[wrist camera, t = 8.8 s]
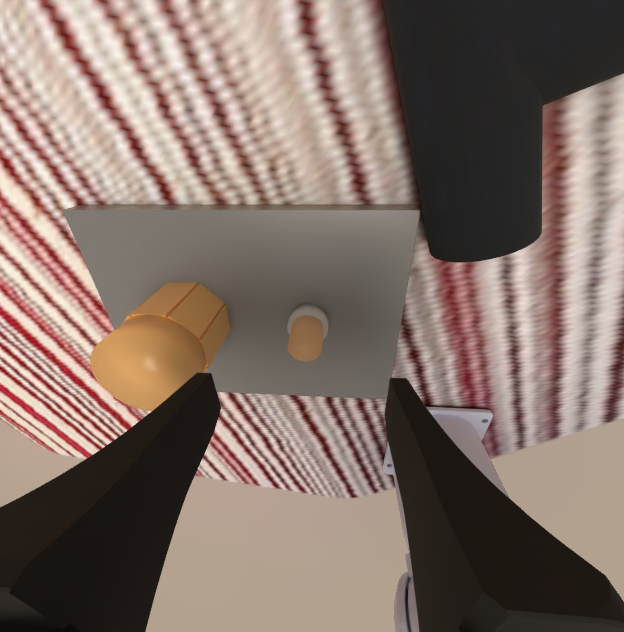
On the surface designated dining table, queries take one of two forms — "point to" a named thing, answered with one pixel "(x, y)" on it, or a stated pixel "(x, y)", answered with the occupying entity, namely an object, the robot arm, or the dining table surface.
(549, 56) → the pipe connector
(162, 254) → the board
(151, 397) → the wire cap
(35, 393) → the dining table surface
